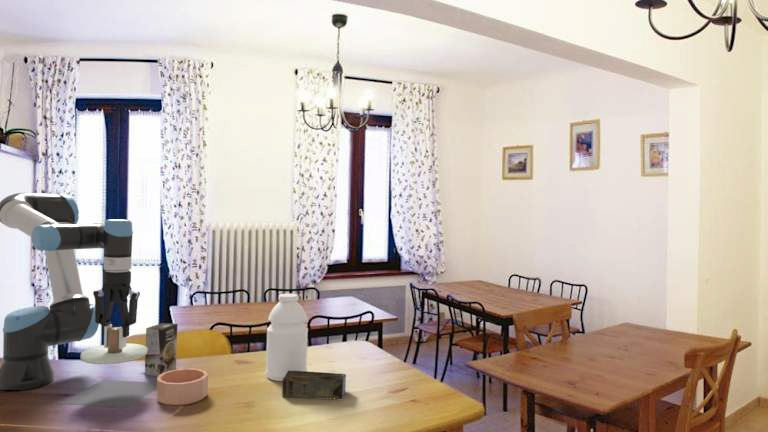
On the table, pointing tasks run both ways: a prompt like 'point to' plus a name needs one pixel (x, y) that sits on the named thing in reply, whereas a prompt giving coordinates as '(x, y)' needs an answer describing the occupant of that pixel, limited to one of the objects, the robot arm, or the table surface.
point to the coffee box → (161, 349)
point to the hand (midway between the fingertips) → (115, 346)
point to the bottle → (286, 338)
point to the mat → (112, 393)
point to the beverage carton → (313, 385)
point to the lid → (113, 351)
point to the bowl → (182, 386)
